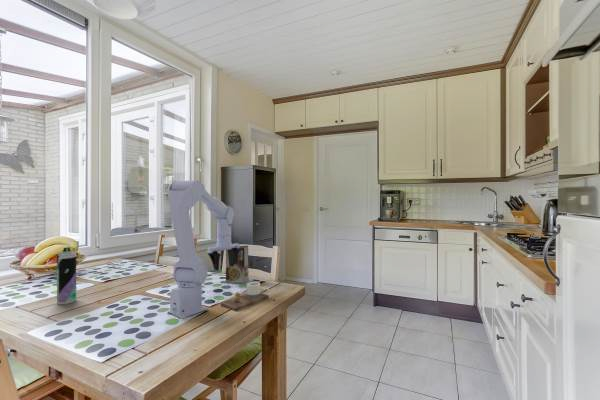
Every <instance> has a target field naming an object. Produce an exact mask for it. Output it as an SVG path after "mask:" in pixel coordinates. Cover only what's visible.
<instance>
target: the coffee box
mask: <svg viewBox="0 0 600 400" xmlns="http://www.w3.org/2000/svg"><path fill="white" fill-rule="evenodd" d="M237 249H239V253H238V254H237V256H236V259H235V263H234V266H233V267H232V266H229V255H228V251H227V250H225V284H247V283H248V281H249V245H239V248H237Z"/></svg>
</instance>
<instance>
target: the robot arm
mask: <svg viewBox="0 0 600 400" xmlns="http://www.w3.org/2000/svg"><path fill="white" fill-rule="evenodd" d="M166 190H167V191H166V192H167V196H168V197H167V198H168V203H169V212H170V218H171V221H172V227H173V233H174V238H175V242H176V243H175V244H176V249H177V252H178V253H177V255H178V259H177V260H175V262H174V263H173V265H172V266H173V274H172V277H173V280H174V282H175V283H176V286H177V287H175V288H172V289H171V291H170V297H169V300H170V301H169V302H170V303H169V304H170V306H169V307H170V309H169V311H168V313H169V314H171V315H173V316H176V317H178V318H180V319H183V318H187V317H189V316H192V315H196V314H198V313H201V312H204V311H207V310H208V307H206V306H204V305H203V303H202V302H203V301H202V300H203V297H202V296H203V294H202V293H203V284H204V283H205V281H206V280H207V278H208V268H207V266H206V265H205V261H204V259H202V257H200V256H198V255H197V250H196V245H195V238H194V232H193V227H192V222H191V215H190V210H191V208H193V207H195V205H197V204H198V202H199V201H200V202H202V204H204V205H205V207H206V209H207V210H208V211H209V212H210V213H211V214H212V215H213V217H214V219H215V220H216V245H215V246H210V247H207V255H208V257H209V258H210V260H211V263H212V265H213V269H214V270H215V271H219V270H220V260H221V259H220V258H221V254H222V253H219V252H223V251H224V252H225V251H226V250H227V251H228V255H229V266H232V267H233V266H234V263H235V259H236V256H237V254H238V253H239V249H237V248H239V246H240V243H238V242H237V243H232V224H233V220H234V217H235V211H234V208H232V207H231V206H228V205H226V204H225V203H224V202H223V201H222V200H220V198H219V197H218V196H216V197H215V196H212V195H211V194H210V193H209V192H208V191H207V190H206V186H205V184H204V183H203V182H202V181H201V180H199V179H195V180H172V181H171V182H170V184H169V185H168V187H167V189H166Z"/></svg>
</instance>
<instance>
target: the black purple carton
mask: <svg viewBox="0 0 600 400" xmlns="http://www.w3.org/2000/svg"><path fill="white" fill-rule="evenodd" d="M76 301H77V253H76V252H74V251H73V250H71V247H63V249H62V250H61V252H60V253H58V254H57V255H56V304H57V305H66V304H67V305H68V304H71V303H75V302H76Z"/></svg>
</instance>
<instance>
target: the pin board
mask: <svg viewBox="0 0 600 400" xmlns="http://www.w3.org/2000/svg"><path fill="white" fill-rule="evenodd" d="M269 298H270V297H269V294H265V293H262V292H260V297H258V298H248V297H247V293H245V294H242V295H240V292H235V293H234V298H231V299H228V300H225V301H222V302H220V306H222V307H223V308H226V309H229V310H231V311H235V312H236V311H239V310H242V309H243V308H244V309H245V308H246V307H249V306H253V305H254V304H257V303H259V302H262V301H264V300H267V299H269Z"/></svg>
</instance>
